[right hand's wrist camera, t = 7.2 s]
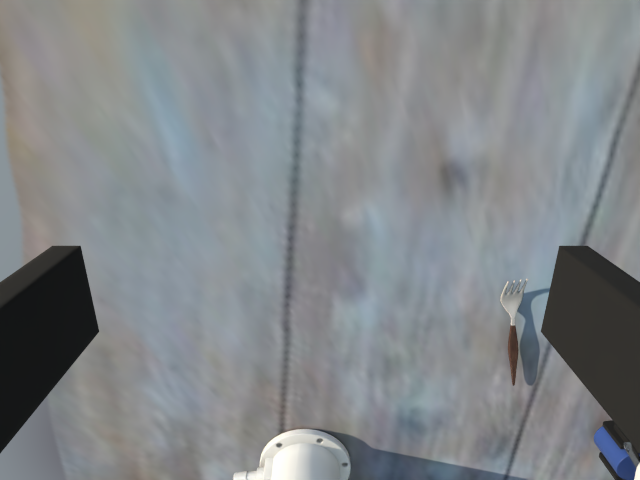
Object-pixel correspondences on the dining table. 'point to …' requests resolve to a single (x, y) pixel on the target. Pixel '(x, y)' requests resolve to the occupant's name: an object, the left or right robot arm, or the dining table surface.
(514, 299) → the fork
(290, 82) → the dining table surface
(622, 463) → the can
